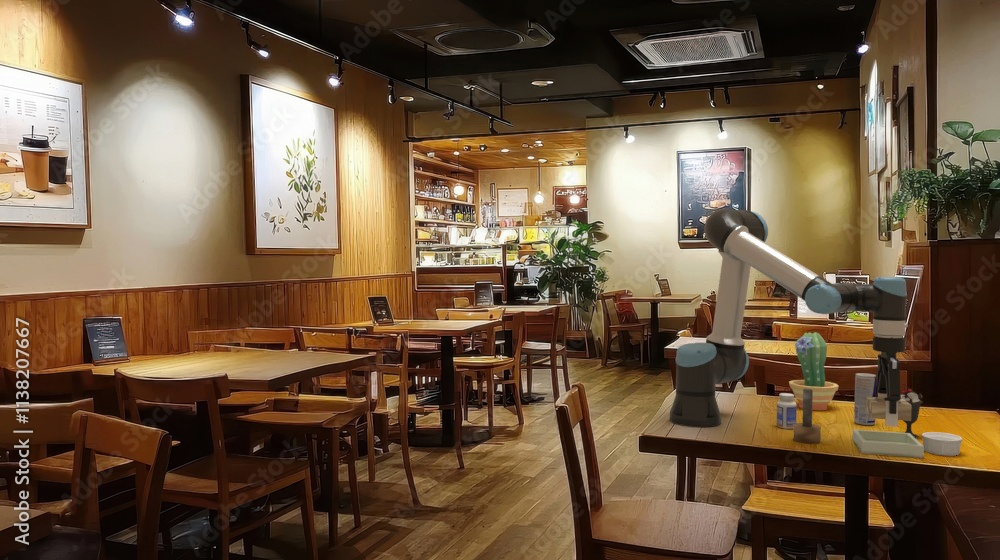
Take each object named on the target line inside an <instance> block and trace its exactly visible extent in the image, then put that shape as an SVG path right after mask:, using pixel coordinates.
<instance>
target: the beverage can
mask: <svg viewBox="0 0 1000 560" xmlns="http://www.w3.org/2000/svg"><path fill="white" fill-rule="evenodd" d="M876 384H877V374H873V373H863V372H862V373H860V372H859V373H858V372H857V373H855V379H854V410H853V411H854V414H853V415H854V419H853V422H854V423H856V424H857V425H860V426H874V425H875V424H876V419H873V418H871V417H870V416H869V415H868V414H867V413H866V412H865V404H866V397H876V395H877V394H876V393H877V391H876V390H877V389H876Z"/></svg>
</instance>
